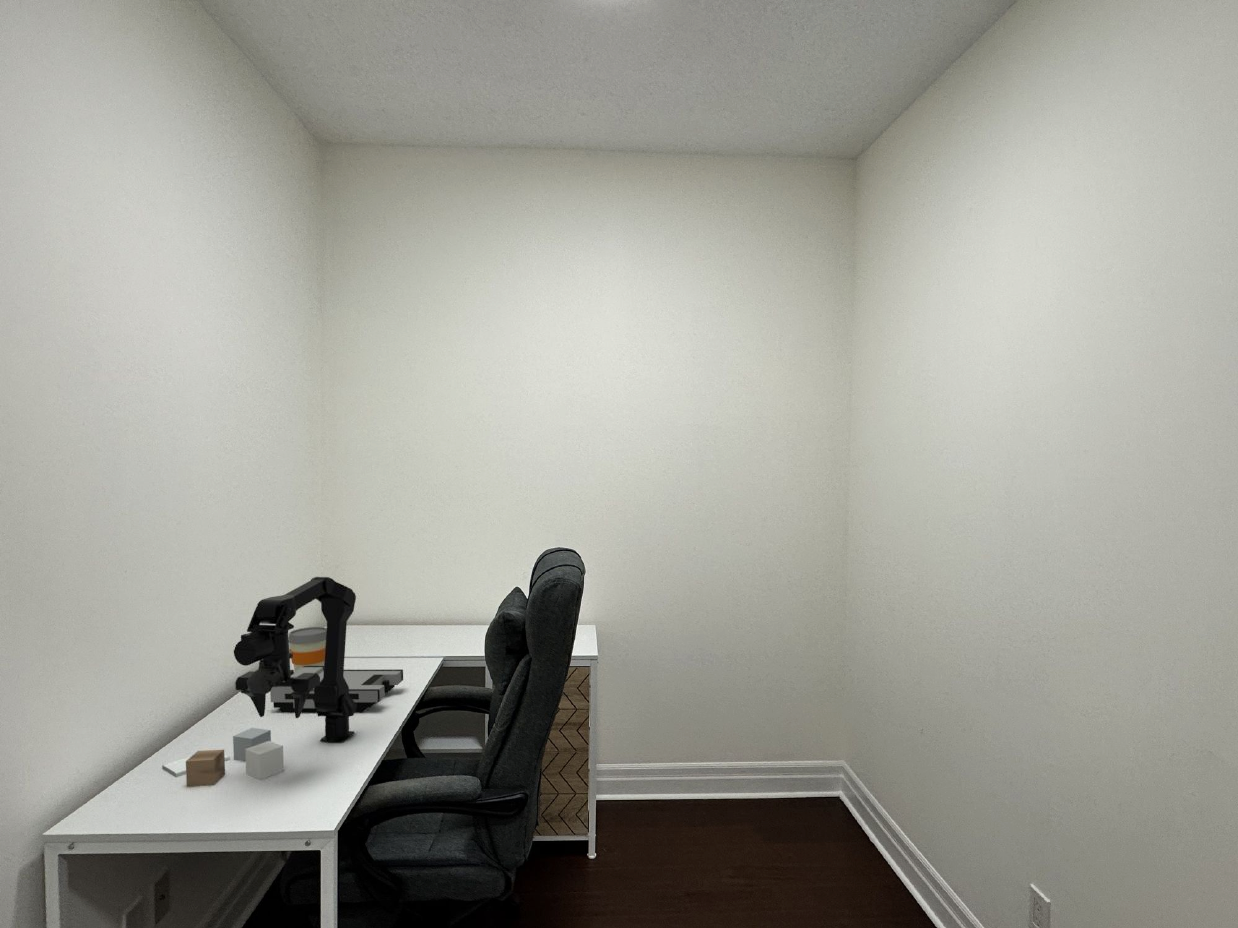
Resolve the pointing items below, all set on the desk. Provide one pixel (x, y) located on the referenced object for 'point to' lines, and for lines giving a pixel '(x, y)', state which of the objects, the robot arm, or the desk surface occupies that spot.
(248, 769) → the off-white cube
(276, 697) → the game console
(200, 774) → the walnut block
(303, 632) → the reusable coffee cup
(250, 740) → the slate-grey block
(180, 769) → the external hard drive
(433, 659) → the desk surface
